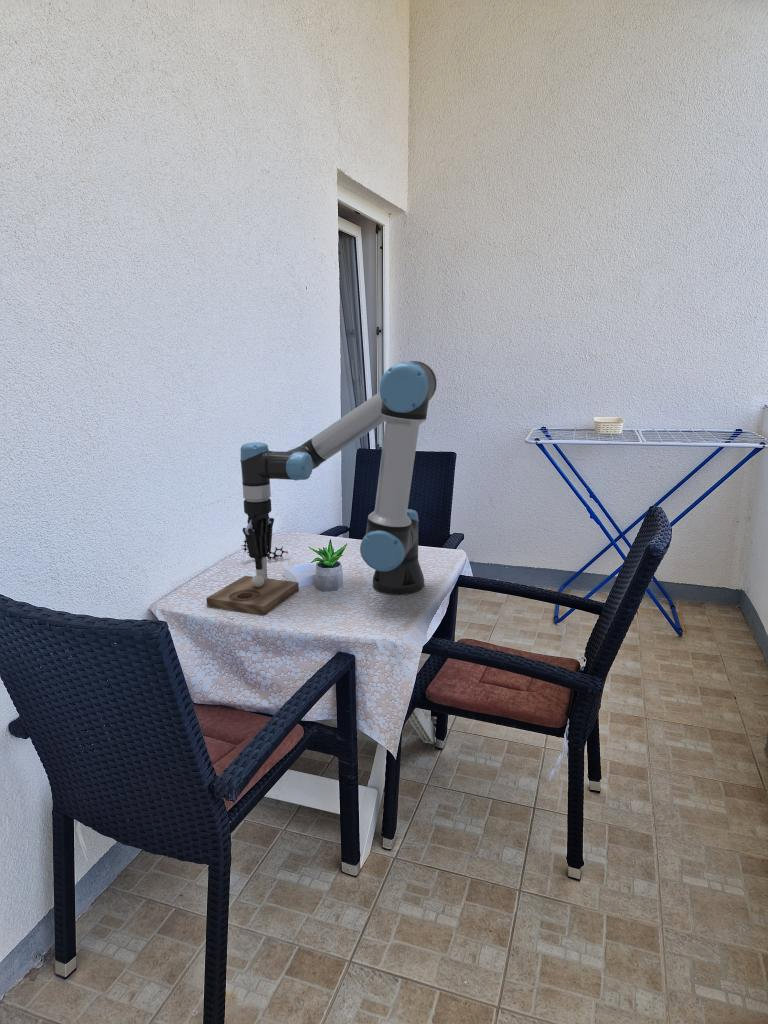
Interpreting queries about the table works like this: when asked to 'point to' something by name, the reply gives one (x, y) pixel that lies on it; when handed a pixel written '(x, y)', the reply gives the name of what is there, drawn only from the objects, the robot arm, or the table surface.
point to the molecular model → (268, 552)
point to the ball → (257, 580)
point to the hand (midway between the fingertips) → (262, 578)
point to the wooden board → (253, 595)
